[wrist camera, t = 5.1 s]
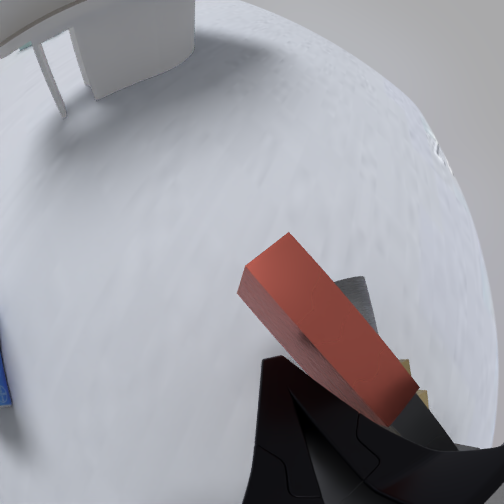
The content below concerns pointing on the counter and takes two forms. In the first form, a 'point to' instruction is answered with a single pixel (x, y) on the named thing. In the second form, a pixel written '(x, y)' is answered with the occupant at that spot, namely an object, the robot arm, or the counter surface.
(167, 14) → the architectural model
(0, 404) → the medicine box
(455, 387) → the counter surface
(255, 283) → the lever
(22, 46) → the l-shaped corner panel
